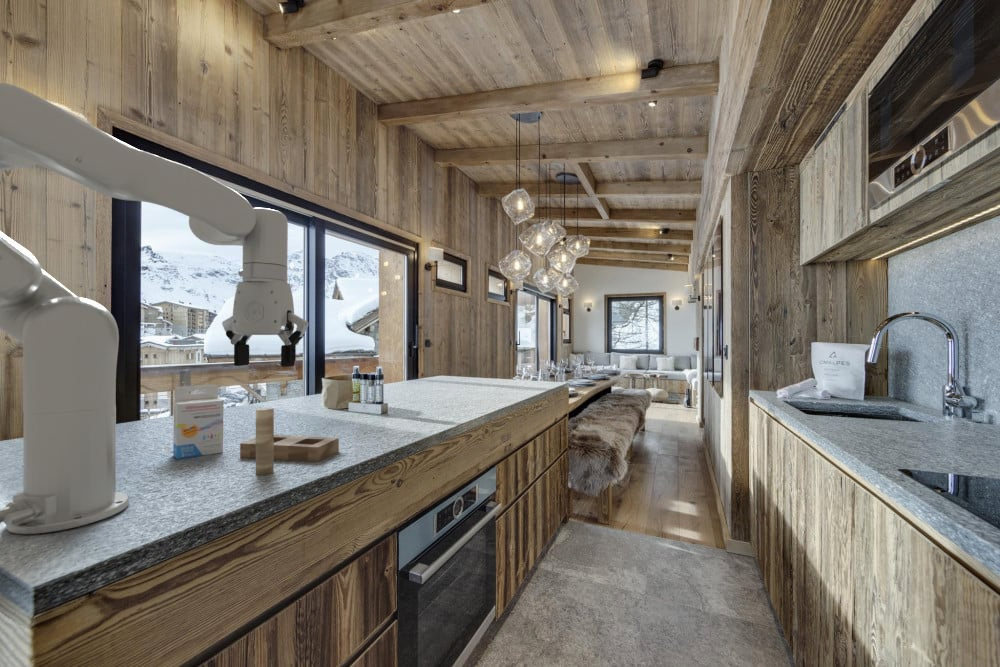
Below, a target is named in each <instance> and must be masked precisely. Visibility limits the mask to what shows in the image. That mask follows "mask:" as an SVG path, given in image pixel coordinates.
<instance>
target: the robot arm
mask: <svg viewBox="0 0 1000 667" xmlns="http://www.w3.org/2000/svg"><path fill="white" fill-rule="evenodd" d="M37 165H38V166H39V167H44V168H45V169H47V170H50V171H52V172H54V173H57V174H58V175H61V176H63V177H65V178H67V179H69V180H71V181H74V182H76V183H78V184H80V185H82V186H84V187H86V188H89V189H90V190H93V191H95V192H97V193H100V194H102V195H104V196H106V197H110V198H112V199H113V198H114V199H118V200H124V201H136V202H144V203H149V204H153V205H157V206H161V207H164V208H167V209H169V210H172V211H175V212H178V213H180V214H182V215H185V216H187V217H188V218H189V219H188V226H189V229H190V231H191V232H192V234H193V236H195V237H196V238H197V239H198V240H200V241H202V242H203V243H206V244H209V245H212V246H214V245H215V246H240V247H241V246H242V269H240V270H239V271H238V277H240V278H241V279H242V281H238V284H237V286H236V290H235V294H234V300H233V309H232V316H230V317H228V318H227V319H224V320H223V321H222V322H221V325H222V327H223V330H224V332H225V335H226V337H227V338H228V339H229V341H230V344H231V345H234V346H233V365H234V366H235V367H239V366H248V365H249V364H250V344H248V341H250V339H251V337H252V336H278V337H279V338H280V340H281V341H282V342H283V345H281V346H280V352H281V353H280V366H281V367H283V368H287V367H294V366H295V364H296V359H297V356H296V354H297V353H296V352H297V351H296V349H297V346H298V345H299V342H300V341H301V340H302V339H303V337H304V336H305V334H306V332H307V329H308V327H309V325H310V324H309V323H310V322H308V321H307V320H305V319H304V318H302V317H300V316H299V315H297V314H295V308H294V307H295V306H294V305H295V304H294V297H293V292H292V287H291V283H288V242H289V241H288V240H289V239H288V236H289V235H288V234H289V233H288V232H289V230H288V229H289V224H288V222H289V221H288V218H287V216H286V215H285V214H284V213H283V212H281V211H279V210H275V209H271V208H266V207H253V206H252V204H251V203H250V202H249V200H248V199H246V198H245V197H244V196H242V194H240V193H239V192H238V191H235V190H234V189H233V188H231V187H229V186H228V185H227V186H226V185H225V184H224V183H222V182H220V181H218V180H216V179H215V178H213V177H211V176H209V175H208V174H205V173H203V172H201V171H199V170H197V169H196V168H192V167H191V166H188V165H185V164H183V163H179V162H178V161H173V160H170V159H167V158H164V157H162V156H159V155H156V154H153V153H150V152H148V151H144V150H142V149H141V150H140V149H138V148H136V147H134V146H132V145H130V144H128V143H126V142H124V141H122V140H120V139H118V138H116V137H114V136H112V135H111V134H109V133H107V132H105V131H103V130H101V129H99V127H96V126H94V125H92V124H91V123H88V122H87V121H85V120H84V119H81V118H79V117H78V116H76V115H74V114H73V113H70V112H68V111H66V110H65V109H63V108H61V107H59V106H57V105H56V104H54V103H52V102H50V101H48V100H46V99H44V98H42V97H40V96H38V95H37V94H35V93H33V92H31V91H28V90H27V89H24V88H21V87H19V86H16V85H15V84H9V83H5V82H0V171H6V170H15V169H22V168H23V169H24V168H28V167H33V166H37ZM295 325H296V328H295ZM0 329H1V330H2V331H4V332H5V333H6V334H8V335H10V336H11V337H12V338H14V339H15V340H17V341H18V342H20V343H21V344H22V352H23V353H22V368H23V369H22V370H23V371H22V412H23V427H22V428H23V430H22V431H23V432H22V433H23V439H22V440H23V444H22V445H23V449H22V450H23V452H22V453H23V455H22V456H23V459H22V460H23V463H22V464H23V465H22V469H23V470H22V471H23V473H22V474H23V475H22V477H23V479H22V480H23V482H22V484H23V488H22V489H23V490H22V492H20V493H17V494H13V495H12V502H8V503H7V504H6V505H5V507H2V508H0V524H1V523H4V524H5V528H6V531H8V532H9V533H13V534H17V535H36V534H45V533H53V532H59V531H65V530H69V529H74V528H77V527H82V526H85V525H90V524H93V523H96V522H98V521H99V522H100V521H101V520H105V519H107V518H110V517H112V516H115V515H116V514H118V513H120V512H122V511H123V510H125V509H126V508H127V507H128V506H129V504H130V496H129V494H126V493H124V492H120V491H119V492H118V491H117V490H116V487H117V485H116V484H117V483H116V482H117V476H116V475H117V471H116V470H117V469H116V468H117V461H116V460H117V406H116V405H117V404H116V397H117V396H116V394H117V393H116V391H117V389H116V388H117V387H116V385H117V381H116V380H117V365H118V354H119V346H120V345H119V343H120V342H119V341H120V335H119V328H118V324H117V321H116V319H115V317H114V315H113V314H112V313H111V312H110V310H108V309H107V308H106V307H105V306H103V305H102V304H101V303H98V302H96V301H95V300H93V299H89V298H85V297H80V296H77V295H76V294H74V293H73V292H72V291H71V290H69V289H68V288H67V287H65V286H64V285H63V284H62V283H61V282H59V281H58V280H57V279H55V278H54V277H53V276H52V275H50V274H49V273H48V272H47V271H45V270H44V269H43V268H42V266H41V264H40V262H39V260H38V259H37V258H36V257H35V256H34V254H33V253H32V252H31V251H29V250H28V249H27V248H25V247H24V246H23V245H21V244H20V243H18V242H16V241H15V240H14V239H12V238H11V237H9V236H8V235H6V234H5V233H4V232H2V231H1V230H0ZM294 329H295V331H294Z"/></svg>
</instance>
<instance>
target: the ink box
mask: <svg viewBox="0 0 1000 667" xmlns="http://www.w3.org/2000/svg"><path fill="white" fill-rule="evenodd" d="M196 390H198V391H201V392H200V393H191V392H196ZM202 391H204V392H203V393H202ZM172 447H173V451H172V454H173V456H174V457H175V459H176V460H181V459H189V458H196V457H201V456H202V457H203V456H207V455H209V456H210V455H215V454H216V455H217V454H221V453H224V400H223V399H222V398H220V397H219V385H218V384H216V383H215V384H204V385H202V384H201V385H187V386H176V387H175V388H174V402H173V446H172Z"/></svg>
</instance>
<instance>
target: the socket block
mask: <svg viewBox="0 0 1000 667" xmlns="http://www.w3.org/2000/svg"><path fill="white" fill-rule="evenodd" d="M339 441H340V438H339V437H326V436H325V437H323V436H303V435H302V436H300V435H285V434H284V435H282V434H281V435H279V434H274V460H275V461H276V460H277V461H293V462H294V461H296V462H314V463H316V462H317V463H319V462H321V461H322V460H325V459H326V458H328V457H331V456H333V455H334V454H336V453H338V452H339V450H340V449H339V448H340V446H339V444H340V442H339ZM239 448H240V449H239V457H240V459H243V458H244V459H256V437H255V438H252V439H249V440H246V441H243V442H241V443H240V444H239Z"/></svg>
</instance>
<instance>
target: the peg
mask: <svg viewBox="0 0 1000 667" xmlns="http://www.w3.org/2000/svg"><path fill="white" fill-rule="evenodd" d="M274 412H275V409H274V408H272V407H267V408H266V407H265V408H264V407H263V408H257V409H255V438H256V458H255V475H256V476H266V475H267V476H268V475H271V474H272V473H274V471H275V466H274V464H275V462H274V460H275V459H274V435H275V434H274V433H275V431H274V430H275V425H274V423H275V421H274V420H275V418H274V417H275V416H274V414H275V413H274Z"/></svg>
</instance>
